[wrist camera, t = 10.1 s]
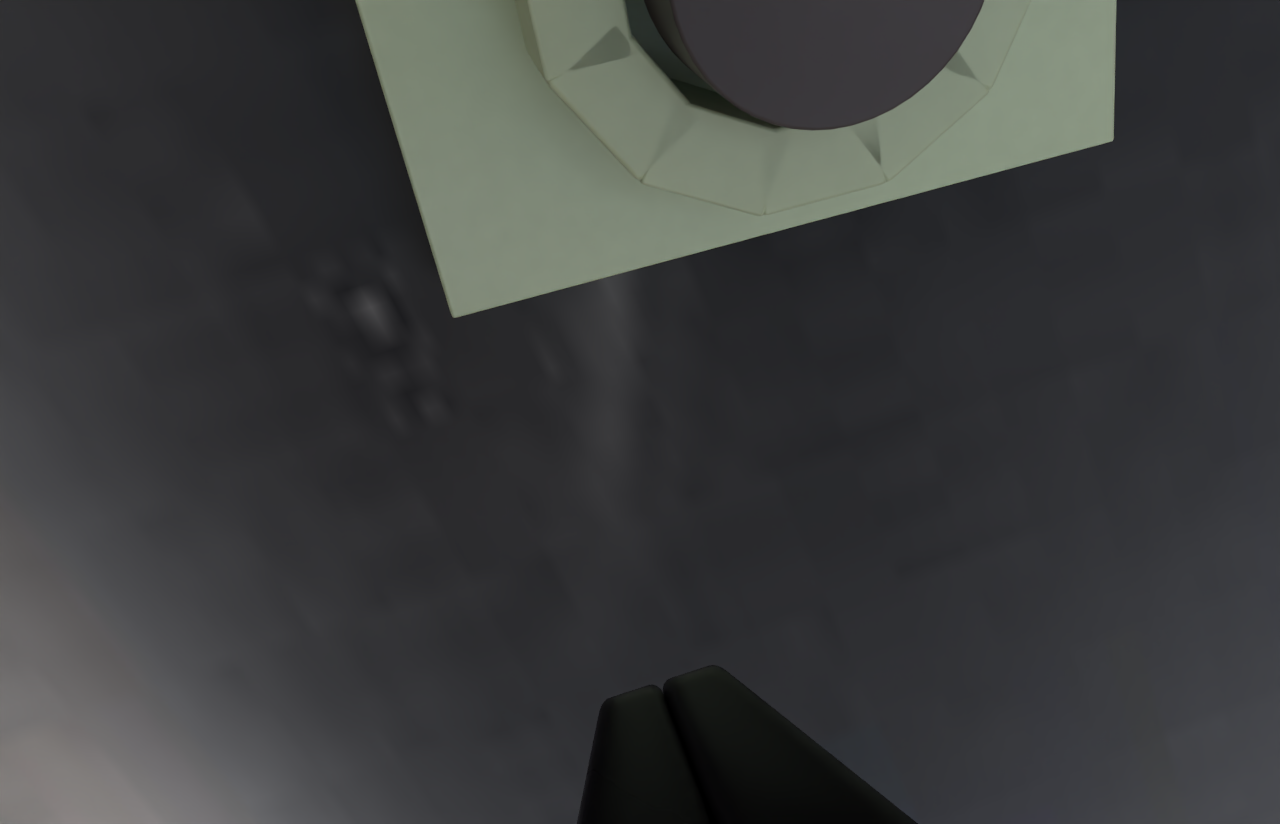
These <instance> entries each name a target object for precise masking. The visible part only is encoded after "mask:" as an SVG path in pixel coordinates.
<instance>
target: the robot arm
mask: <svg viewBox="0 0 1280 824" xmlns="http://www.w3.org/2000/svg"><path fill="white" fill-rule="evenodd" d="M577 824H918V823H916V822H915V821H914V820H913V819H911V818H910V817H909V816H908V815H906V814H905V813H904V812H903V811H901V810H900V809H899V808H898V807H896V806H895V805H894V804H893V803H891V802H890V801H889V800H888V799H886V798H885V797H884V796H883V795H881V794H880V793H879V792H878V791H876V790H875V789H874V788H873V787H871V786H870V785H869V784H868V783H866V782H865V781H864V780H863V779H861V778H860V777H859V776H857V775H856V774H855V773H854V772H852V771H851V770H850V769H849V768H847V767H846V766H845V765H844V764H842V763H841V762H840V761H839V760H837V759H836V758H835V757H834V756H832V755H831V754H830V753H829V752H827V751H826V750H825V749H824V748H822V747H821V746H820V745H819V744H817V743H816V742H815V741H814V740H812V739H811V738H810V737H809V736H807V735H806V734H805V733H804V732H802V731H801V730H800V729H799V728H797V727H796V726H795V725H794V724H792V723H791V722H790V721H789V720H787V719H786V718H785V717H784V716H782V715H781V714H780V713H779V712H777V711H776V710H775V709H774V708H772V707H771V706H770V705H769V704H767V703H766V702H765V701H764V700H762V699H761V698H760V697H759V696H757V695H756V694H755V693H754V692H752V691H751V690H750V689H749V688H747V687H746V686H745V685H744V684H742V683H741V682H740V681H739V680H737V679H736V678H735V677H734V676H732V675H731V674H730V673H729V672H727V671H726V670H724V669H723V668H721V667H719V666H715V665H711V666H707V667H704V668H700V669H697V670H694V671H691V672H688V673H685V674H682V675H679V676H676V677H672V678H670V679H668V680H667V681H666V682H665V683H664V686H663V692H662V691H661V689H660V688H659V687H658V686H655V685H648V686H645V687H641V688H638V689H635V690H632V691H629V692H626V693H623V694H620V695H617V696H614V697H611V698H608V699H606V700H605V702H604V703H603V704H602V706H601V708H600V711H599V716H598V721H597V726H596V731H595V736H594V741H593V746H592V751H591V756H590V761H589V766H588V771H587V776H586V781H585V786H584V791H583V796H582V801H581V806H580V811H579V816H578V821H577Z"/></svg>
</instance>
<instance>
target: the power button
mask: <svg viewBox="0 0 1280 824" xmlns="http://www.w3.org/2000/svg"><path fill="white" fill-rule="evenodd" d="M644 2H645V5H646V7H647V10H648V13H649V15H650V18H651V19H652V21H653V23H654V25H655V27H656V29H657V30H658V32H659V34H660V36H661V37H662V39H663V40H664V41H665V43H666V44H667V45H668V47H669V48H670V50H671V51H672V52H673V53H674V54H675V55H676V56H677V57H678V58H679V59H680V60H681V61H682V62H683V63H684V64H685V65H686V66H687V67H688V68H689V69H690V70H691V71H693V72H694V73H695V74H696V75H697V76H698V77H700V78H701V79H702V80H703V81H704V82H706V83H707V84H708V85H709V86H710V87H711V88H713V89H714V90H715V91H716V92H717V93H719V94H720V95H721V96H722V97H724V98H725V99H726V100H727V101H729V102H730V103H731V104H733V105H734V106H735V107H737V108H738V109H740V110H742V111H744V112H745V113H747V114H749V115H751V116H753V117H755V118H757V119H760V120H762V121H765V122H767V123H770V124H773V125H777V126H781V127H786V128H790V129H799V130H811V131H814V130H832V129H837V128H842V127H848V126H853V125H856V124H859V123H862V122H865V121H868V120H871V119H873V118H876V117H878V116H880V115H882V114H884V113H886V112H888V111H890V110H892V109H894V108H896V107H897V106H899V105H900V104H902V103H903V102H905V101H907V100H908V99H910V98H911V97H913V96H914V95H915V94H916V93H917V92H919V91H920V90H921V89H922V88H924V87H925V86H926V85H927V84H929V83H930V82H931V80H932V79H933V78H934V77H935V76H936V75H937V74H938V73H939V72H940V71H941V70H942V69H943V68H944V67H945V66H946V65H947V63H948V62H949V61H950V60H951V58H952V57H953V56H954V55H955V53H956V52H957V51H958V50H959V48H960V46H961V45H962V43H963V42H964V40H965V39H966V37H967V35H968V34H969V32H970V31H971V29H972V27H973V25H974V23H975V21H976V19H977V17H978V15H979V13H980V11H981V8H982V6H983V3H984V0H644Z"/></svg>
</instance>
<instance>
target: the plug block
mask: <svg viewBox="0 0 1280 824" xmlns="http://www.w3.org/2000/svg"><path fill="white" fill-rule="evenodd" d="M355 2H356V5H357V8H358V12H359V15H360V18H361V21H362V25H363V28H364V31H365V34H366V38H367V41H368V44H369V47H370V51H371V54H372V57H373V61H374V64H375V67H376V70H377V74H378V77H379V80H380V83H381V87H382V90H383V93H384V97H385V100H386V103H387V106H388V110H389V113H390V116H391V119H392V123H393V126H394V129H395V133H396V136H397V139H398V142H399V146H400V149H401V152H402V155H403V159H404V162H405V165H406V168H407V172H408V175H409V178H410V182H411V185H412V188H413V191H414V195H415V198H416V201H417V204H418V208H419V211H420V214H421V218H422V221H423V224H424V227H425V231H426V234H427V237H428V240H429V244H430V247H431V250H432V254H433V257H434V260H435V263H436V267H437V270H438V273H439V276H440V280H441V283H442V286H443V289H444V293H445V296H446V299H447V303H448V306H449V309H450V312H451V315H452V316H453V317H454V318H456V317H460V316H464V315H468V314H471V313H475V312H479V311H482V310H486V309H490V308H494V307H497V306H501V305H505V304H509V303H512V302H516V301H520V300H523V299H527V298H531V297H535V296H538V295H542V294H546V293H549V292H553V291H557V290H561V289H564V288H568V287H572V286H575V285H579V284H583V283H587V282H590V281H594V280H598V279H602V278H605V277H609V276H613V275H616V274H620V273H624V272H628V271H631V270H635V269H639V268H642V267H646V266H650V265H654V264H657V263H661V262H665V261H669V260H672V259H676V258H680V257H683V256H687V255H691V254H695V253H698V252H702V251H706V250H709V249H713V248H717V247H721V246H724V245H728V244H732V243H735V242H739V241H743V240H747V239H750V238H754V237H758V236H762V235H765V234H769V233H773V232H776V231H780V230H784V229H788V228H791V227H795V226H799V225H802V224H806V223H810V222H814V221H817V220H821V219H825V218H829V217H832V216H836V215H840V214H843V213H847V212H851V211H855V210H858V209H862V208H866V207H869V206H873V205H877V204H881V203H884V202H888V201H892V200H896V199H899V198H903V197H907V196H910V195H914V194H918V193H922V192H925V191H929V190H933V189H936V188H940V187H944V186H948V185H951V184H955V183H959V182H962V181H966V180H970V179H974V178H977V177H981V176H985V175H989V174H992V173H996V172H1000V171H1003V170H1007V169H1011V168H1015V167H1018V166H1022V165H1026V164H1029V163H1033V162H1037V161H1041V160H1044V159H1048V158H1052V157H1056V156H1059V155H1063V154H1067V153H1070V152H1074V151H1078V150H1082V149H1085V148H1089V147H1093V146H1096V145H1100V144H1104V143H1108V142H1111V141H1113V139H1114V93H1115V45H1116V0H984V3H983V6H982V8H981V11H980V13H979V15H978V17H977V19H976V21H975V23H974V25H973V27H972V29H971V31H970V32H969V34H968V35H967V37H966V39H965V40H964V42H963V43H962V45H961V46H960V48H959V50H958V51H957V52H956V53H955V55H954V56H953V57H952V58H951V60H950V61H949V62H948V63H947V65H946V66H945V67H944V68H943V69H942V70H941V71H940V72H939V73H938V74H937V75H936V76H935V77H934V78H933V79H932V80H931V82H930V83H929V84H927V85H926V86H925V87H924V88H922V89H921V90H920V91H919V92H917V93H916V94H915V95H914V96H913V97H911V98H910V99H908V100H907V101H905V102H903V103H902V104H900V105H899V106H897V107H896V108H894V109H892V110H890V111H888V112H886V113H884V114H882V115H880V116H878V117H876V118H873V119H871V120H868V121H865V122H862V123H859V124H856V125H853V126H848V127H842V128H837V129H832V130H814V131H811V130H799V129H790V128H786V127H781V126H777V125H773V124H770V123H767V122H765V121H762V120H760V119H757V118H755V117H753V116H751V115H749V114H747V113H745V112H744V111H742V110H740V109H738V108H737V107H735V106H734V105H733V104H731V103H730V102H729V101H727V100H726V99H725V98H724V97H722V96H721V95H720V94H719V93H717V92H716V91H715V90H714V89H713V88H711V87H710V86H709V85H708V84H707V83H706V82H704V81H703V80H702V79H701V78H700V77H698V76H697V75H696V74H695V73H694V72H693V71H691V70H690V69H689V68H688V67H687V66H686V65H685V64H684V63H683V62H682V61H681V60H680V59H679V58H678V57H677V56H676V55H675V54H674V53H673V52H672V51H671V50H670V48H669V47H668V45H667V44H666V43H665V41H664V40H663V39H662V37H661V36H660V34H659V32H658V30H657V29H656V27H655V25H654V23H653V21H652V19H651V18H650V15H649V13H648V10H647V7H646V5H645V2H644V0H355Z"/></svg>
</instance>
